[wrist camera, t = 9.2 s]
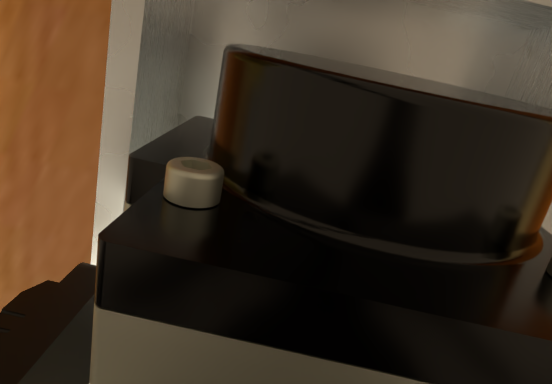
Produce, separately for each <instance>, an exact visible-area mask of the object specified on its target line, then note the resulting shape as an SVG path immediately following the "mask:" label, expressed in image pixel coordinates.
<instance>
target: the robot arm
mask: <svg viewBox="0 0 552 384" xmlns="http://www.w3.org/2000/svg"><path fill="white" fill-rule="evenodd" d="M95 280H96V265H92V264H88V263H80V264H78V265H77V266H76V267H75V268H74V269H73V270H72V271H71V272H70V273H69V274H68V275H67V276H66V277H65V278H64V279H63V280H62V281H61V282H60V283H58V282H54V281H49V280H47V281H45V282H43V283H41V284H38V285H36V286H34V287H32V288H29V289H27V290H25V291H23V292H21V293H20V294H19V295H18V296H16V297H15V298H14V299H13V300H12V301H11V302H10V303H8V304H7V305H6V306H5V307H4V308H3V309H2V311H1V313H0V384H89V380H90V363H91V347H92V330H93V313H94V297H95Z"/></svg>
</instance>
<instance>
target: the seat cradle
mask: <svg viewBox="0 0 552 384" xmlns="http://www.w3.org/2000/svg"><path fill="white" fill-rule="evenodd" d="M235 43H236V44H247V45H254V46H261V47H267V48H273V49H279V50H285V51H290V52H296V53H301V54H307V55H312V56H317V57H322V58H327V59H332V60H338V61H343V62H348V63H353V64H357V65H362V66H367V67H372V68H377V69H382V70H386V71H391V72H396V73H401V74H405V75H410V76H414V77H419V78H424V79H428V80H433V81H437V82H442V83H446V84H451V85H455V86H460V87H464V88H468V89H473V90H477V91H481V92H486V93H490V94H494V95H498V96H502V97H506V98H511V99H515V100H519V101H523V102H527V103H531V104H534V105H538V106H542V107H546V108H549V109H552V0H112V5H111V17H110V30H109V42H108V55H107V67H106V80H105V92H104V105H103V117H102V130H101V142H100V155H99V167H98V180H97V192H96V205H95V217H94V230H93V242H92V255H91V264H92V265H96V263H97V246H98V234H99V233H100V232H101V231H102V230H103V229H104V228H106V227H107V226H108V225H109V224H110V223H111V222H113V221H114V220H115V219H116V218H117V217H119V216H120V215H121V214H122V213H123V212H124V208H125V195H126V183H127V171H128V158H129V154H130V153H132V152H134V151H135V150H137V149H139V148H141V147H142V146H144V145H146V144H148V143H149V142H151V141H153V140H155V139H156V138H158V137H160V136H162V135H163V134H165V133H167V132H168V131H170V130H172V129H174V128H175V127H177V126H179V125H181V124H182V123H184V122H186V121H188V120H189V119H191V118H193V117H195V116H203V117H208V118H213V119H214V112H215V105H216V98H217V92H218V85H219V78H220V71H221V64H222V57H223V51H224V49H225V47H226V46H227V45H229V44H235ZM541 226H542V227H543V228H544V229H545V230H547V231H548V232H549V233H550V234H551V235H552V203H551V205H550V207H549V209H548V212H547V214H546V216H545V218H544V221H543V223H542V225H541Z"/></svg>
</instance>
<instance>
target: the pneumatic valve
mask: <svg viewBox="0 0 552 384" xmlns="http://www.w3.org/2000/svg"><path fill="white" fill-rule="evenodd" d="M551 203H552V109H549V108H546V107H542V106H538V105H534V104H531V103H527V102H523V101H519V100H515V99H511V98H506V97H502V96H498V95H494V94H490V93H486V92H481V91H477V90H473V89H468V88H464V87H460V86H455V85H451V84H446V83H442V82H437V81H433V80H428V79H424V78H419V77H414V76H410V75H405V74H401V73H396V72H391V71H386V70H382V69H377V68H372V67H367V66H362V65H357V64H353V63H348V62H343V61H338V60H332V59H327V58H322V57H317V56H312V55H307V54H301V53H296V52H290V51H285V50H279V49H273V48H267V47H261V46H254V45H247V44H236V43H235V44H229V45H227V46H226V47H225V49H224V51H223V57H222V64H221V71H220V78H219V85H218V92H217V98H216V105H215V112H214V119H213V118H208V117H203V116H195V117H193V118H191V119H189V120H188V121H186V122H184V123H182V124H181V125H179V126H177V127H175V128H174V129H172V130H170V131H168V132H167V133H165V134H163V135H162V136H160V137H158V138H156V139H155V140H153V141H151V142H149V143H148V144H146V145H144V146H142V147H141V148H139V149H137V150H135V151H134V152H132V153H130V154H129V158H128V171H127V183H126V195H125V208H124V212H123V213H122V214H121V215H120V216H119V217H117V218H116V219H115V220H114V221H113V222H111V223H110V224H109V225H108V226H107V227H106V228H104V229H103V230H102V231H101V232H100V233H99V234H98V246H97V263H96V280H95V297H94V313H93V330H92V347H91V363H90V380H89V384H552V235H551V234H550V233H549V232H548V231H547V230H545V229H544V228H543V227H542V226H541V225H542V223H543V221H544V218H545V216H546V214H547V212H548V209H549V207H550V205H551Z"/></svg>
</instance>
